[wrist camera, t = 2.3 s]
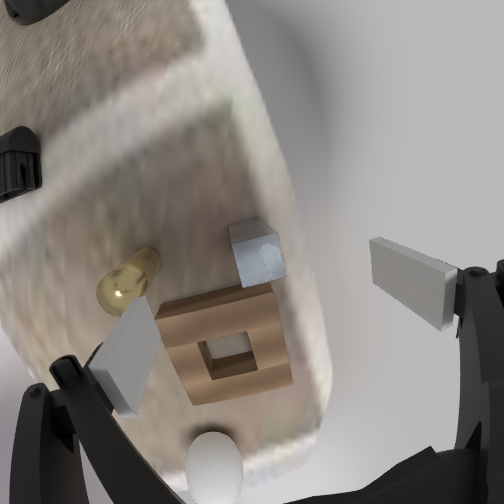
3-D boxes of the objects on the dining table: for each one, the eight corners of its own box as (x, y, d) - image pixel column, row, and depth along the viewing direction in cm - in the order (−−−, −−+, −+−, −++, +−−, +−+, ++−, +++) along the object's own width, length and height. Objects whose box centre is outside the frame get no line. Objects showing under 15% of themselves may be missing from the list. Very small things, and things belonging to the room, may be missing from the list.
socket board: (161, 304, 30) (153, 320, 26) (266, 278, 30) (273, 291, 26) (195, 385, 33) (193, 405, 29) (286, 364, 33) (293, 383, 29)
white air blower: (240, 448, 37) (252, 541, 19) (191, 449, 36) (188, 542, 18) (238, 419, 35) (252, 526, 17) (184, 419, 34) (176, 526, 17)
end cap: (42, 129, 23) (9, 121, 17) (45, 186, 25) (11, 188, 19) (-7, 154, 23) (-39, 153, 16) (-4, 205, 24) (-37, 211, 18)
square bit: (228, 224, 29) (231, 244, 19) (258, 217, 29) (277, 233, 19) (235, 254, 29) (242, 288, 20) (265, 247, 29) (286, 276, 20)
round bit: (129, 251, 28) (90, 281, 18) (156, 243, 28) (126, 272, 18) (138, 279, 29) (105, 319, 19) (165, 272, 29) (140, 312, 19)
